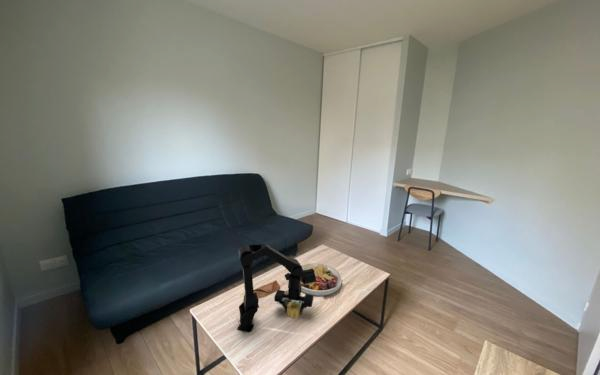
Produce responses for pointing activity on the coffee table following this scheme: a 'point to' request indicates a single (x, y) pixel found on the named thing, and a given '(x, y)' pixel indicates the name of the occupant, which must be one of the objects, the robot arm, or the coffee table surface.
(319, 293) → the bowl
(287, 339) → the coffee table surface
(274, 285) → the sunglasses case
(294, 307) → the gear
